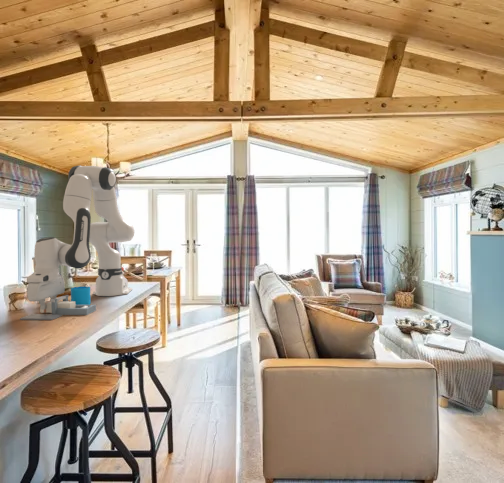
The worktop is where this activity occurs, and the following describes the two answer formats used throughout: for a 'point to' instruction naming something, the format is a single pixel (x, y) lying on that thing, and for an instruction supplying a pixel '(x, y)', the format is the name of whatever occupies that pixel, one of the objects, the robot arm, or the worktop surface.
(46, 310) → the beige rectangular block
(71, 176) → the robot arm
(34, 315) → the pad
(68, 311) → the dispenser
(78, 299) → the mug
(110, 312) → the worktop surface
